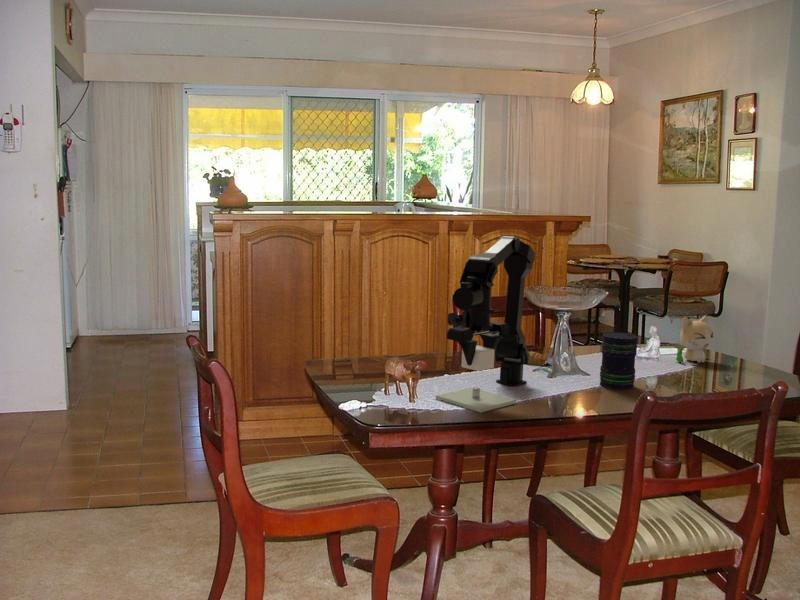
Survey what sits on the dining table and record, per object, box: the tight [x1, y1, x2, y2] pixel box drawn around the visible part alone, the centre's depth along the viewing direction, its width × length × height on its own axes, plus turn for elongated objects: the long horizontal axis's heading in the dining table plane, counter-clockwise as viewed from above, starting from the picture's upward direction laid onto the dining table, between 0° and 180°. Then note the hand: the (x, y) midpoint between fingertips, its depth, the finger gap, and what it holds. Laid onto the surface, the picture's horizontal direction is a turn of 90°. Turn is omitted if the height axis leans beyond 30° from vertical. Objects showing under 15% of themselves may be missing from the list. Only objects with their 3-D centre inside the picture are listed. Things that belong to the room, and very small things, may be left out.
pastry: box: [527, 350, 549, 366], centre depth 270 cm, size 9×7×4 cm
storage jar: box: [599, 331, 638, 391], centre depth 242 cm, size 10×10×15 cm
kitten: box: [675, 314, 714, 364], centre depth 278 cm, size 15×10×15 cm
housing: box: [461, 344, 495, 372], centre depth 221 cm, size 6×6×5 cm
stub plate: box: [435, 386, 517, 413], centre depth 223 cm, size 14×16×4 cm
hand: (477, 363), depth 221 cm, fingers closed on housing, 6 cm apart
